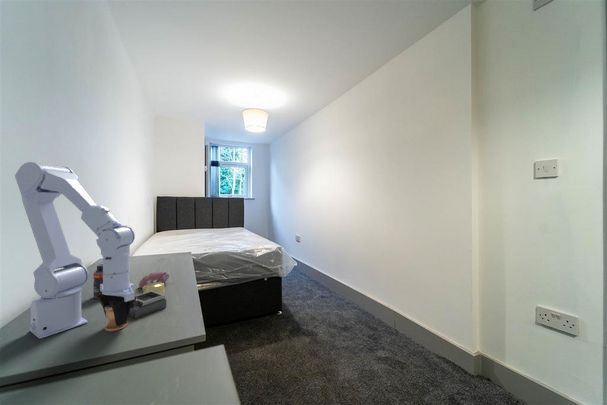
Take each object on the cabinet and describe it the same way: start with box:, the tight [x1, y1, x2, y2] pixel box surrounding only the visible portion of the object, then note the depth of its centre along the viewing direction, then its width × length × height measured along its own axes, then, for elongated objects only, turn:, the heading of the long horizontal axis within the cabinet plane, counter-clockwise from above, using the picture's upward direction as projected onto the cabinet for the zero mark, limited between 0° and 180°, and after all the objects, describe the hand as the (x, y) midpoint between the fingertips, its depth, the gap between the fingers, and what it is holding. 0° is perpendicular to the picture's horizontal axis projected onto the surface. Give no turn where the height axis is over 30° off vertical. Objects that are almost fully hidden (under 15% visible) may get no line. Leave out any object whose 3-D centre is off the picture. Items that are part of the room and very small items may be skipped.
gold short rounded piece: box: [142, 281, 165, 295], centre depth 87 cm, size 6×6×4 cm
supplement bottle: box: [92, 263, 103, 300], centre depth 87 cm, size 6×6×11 cm
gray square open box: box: [128, 291, 167, 320], centre depth 77 cm, size 9×9×5 cm
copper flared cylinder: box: [104, 304, 129, 333], centre depth 66 cm, size 5×5×6 cm
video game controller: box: [138, 270, 170, 289], centre depth 98 cm, size 10×5×7 cm, turn 143°
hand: (116, 321), depth 66 cm, fingers closed on copper flared cylinder, 5 cm apart
